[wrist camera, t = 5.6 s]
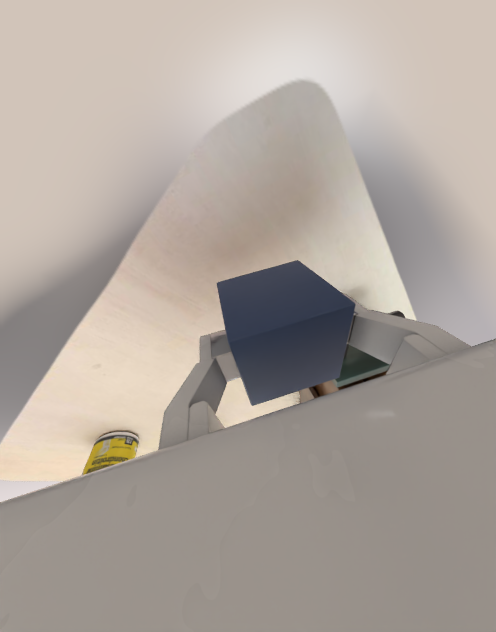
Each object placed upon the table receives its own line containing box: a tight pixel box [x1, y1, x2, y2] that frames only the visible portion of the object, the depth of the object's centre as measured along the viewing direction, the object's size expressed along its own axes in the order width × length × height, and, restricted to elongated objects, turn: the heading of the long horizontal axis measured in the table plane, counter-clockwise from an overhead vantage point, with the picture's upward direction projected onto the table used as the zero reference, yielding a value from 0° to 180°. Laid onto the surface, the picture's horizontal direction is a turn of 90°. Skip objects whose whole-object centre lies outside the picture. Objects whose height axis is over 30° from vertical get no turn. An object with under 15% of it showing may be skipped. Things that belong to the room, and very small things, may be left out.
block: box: [217, 260, 356, 406], centre depth 9 cm, size 4×4×4 cm
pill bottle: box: [81, 432, 139, 476], centre depth 27 cm, size 6×6×12 cm
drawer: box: [313, 311, 405, 397], centre depth 26 cm, size 18×11×8 cm, turn 11°
